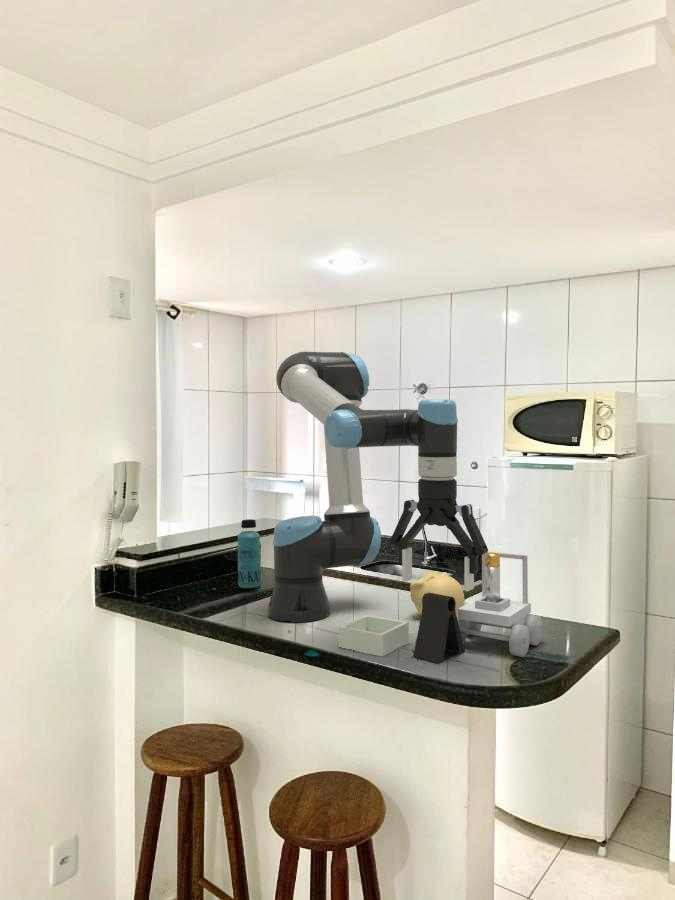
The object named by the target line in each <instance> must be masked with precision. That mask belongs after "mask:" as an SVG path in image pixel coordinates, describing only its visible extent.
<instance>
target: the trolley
mask: <svg viewBox="0 0 675 900" xmlns="http://www.w3.org/2000/svg"><path fill="white" fill-rule="evenodd" d="M490 552H491V551H488V552H487V553H490ZM492 552H493V553H499V554H500V558H503V559H504V558H505V559H512V560H513V559H515V560H521V561H522V601H519V600H511V598H507V597H502V596H500V602H499V603H494V602H486V601H485V554H483V555H481V591H482V592H481V593H482V595H481V596H479V597H478V598H476V599H474V600H472V601H470V602H468V603H466V604H464V606H462V607H460V608H458V615H456V616H457V620H458V624H459V629H460V633H461V637H462V641H463V644H464V643H465V641H466V638H467V635H470V636H476V637H483V638H489V639H492V640H493V639H494V640H500V641H504V642H505V641H506V642H508V648H509V649H508V650H509V652H510V655H511V656H516V657H520V658H524V657H526V656H527V654H528V651H529V647H530V646H537V644H539V643H540V644H541V641H542V638H543V634H544V623H543V619H542V616H541V615H534V614H531V613H532V607H531V606H532V604H531V602H528V599H529V597H528V596H529V593H528V591H529V589H528V588H529V586H528V584H529V583H528V582H529V581H528V579H529V578H528V576H529V575H528V573H529V572H528V567H529V566H528V564H529V563H528V555H527V554H515V553H507V552H506V553H505V552H497V551H496V552H494V551H492ZM524 618H525V620H524V622H523V624H524V625H523V624H517V622H519V621H520V620H522V619H524ZM483 625H484V626H489V627H490V626H491V627H494V628H495V627H497V628H500V629H501V628H503V629H507V630H510V631H509V635H505V634H498V633H493V632H487V631H482V627H483ZM540 644H539V645H540Z"/></svg>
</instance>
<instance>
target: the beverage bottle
mask: <svg viewBox="0 0 675 900" xmlns="http://www.w3.org/2000/svg"><path fill="white" fill-rule="evenodd" d="M240 524H241V526H240V527H241V528H242V529H253V528H254V529H255V528H256V527H257V523H256V519H251V518H250V519H249V518H247V519H242V520H241V523H240ZM260 539H261V535H260V534H259V533H258V532H257V531H254V530H243V531H241V532H239V534H238V535H237V559H236V560H237V563H236V564H237V565H236V566H237V585H238V587H239V588H242V589H251V588H258V587H260V586H261V583H262V580H261V578H262V576H261V564H262V563H261V562H262V561H261V540H260Z"/></svg>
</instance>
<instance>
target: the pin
mask: <svg viewBox="0 0 675 900" xmlns="http://www.w3.org/2000/svg"><path fill="white" fill-rule="evenodd" d="M489 552H490V553H485V601H486V602H494V603H499V602H500V597H501V557H500V554H499V553H500V552H497V553H493V552H494V551H489Z"/></svg>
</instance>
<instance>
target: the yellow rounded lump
mask: <svg viewBox="0 0 675 900" xmlns="http://www.w3.org/2000/svg"><path fill="white" fill-rule="evenodd" d="M409 589H410V595H409V596H410V600H411V601H412V603H413V604H414V606H415V608H416V611H417V612H418V613H419V615H420V616H421V614H422V598H423V595H424V594H425V593H427V594H428V592H429V593H434V594H439V595H444V596H449V597H453V598H454V599H455V602H456V605H455V611H456V615H458V608H460V607H462V606H464V605H465V594H464V590H463V588H462V586H461V584H460V583H459V582H458V581H457V580H456V579H455V578H453V577H451V575H448V574H447V572H438V571H437V572H434V571H428V572H426V573H425V574H423V576H422V577H421V578H419V579H417V580H415V581H413V582H411V583H410V586H409Z"/></svg>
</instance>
